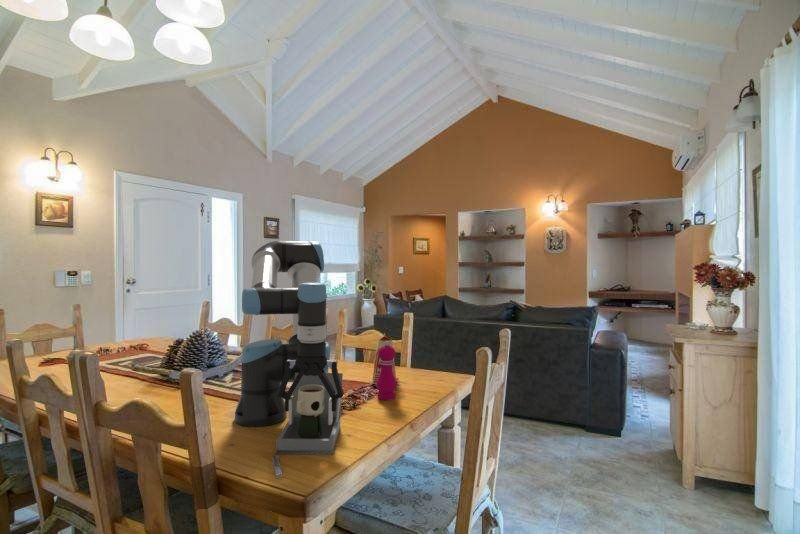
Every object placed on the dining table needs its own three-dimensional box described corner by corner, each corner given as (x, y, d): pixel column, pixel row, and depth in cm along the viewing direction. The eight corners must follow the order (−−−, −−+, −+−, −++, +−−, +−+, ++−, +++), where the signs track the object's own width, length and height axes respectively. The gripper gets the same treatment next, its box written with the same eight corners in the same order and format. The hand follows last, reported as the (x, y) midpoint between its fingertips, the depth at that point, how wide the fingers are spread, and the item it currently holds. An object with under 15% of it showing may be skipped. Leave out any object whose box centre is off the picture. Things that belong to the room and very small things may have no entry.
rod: (281, 479, 98) (281, 473, 98) (276, 480, 97) (276, 474, 97) (277, 459, 107) (277, 454, 107) (272, 460, 107) (272, 455, 106)
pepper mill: (394, 401, 150) (394, 343, 149) (373, 400, 151) (374, 342, 151) (398, 395, 157) (399, 339, 156) (378, 393, 158) (379, 338, 158)
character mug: (307, 446, 111) (308, 396, 111) (285, 440, 114) (287, 391, 114) (332, 431, 121) (334, 385, 120) (312, 426, 124) (314, 380, 124)
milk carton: (395, 385, 168) (396, 334, 168) (371, 385, 169) (372, 333, 168) (396, 379, 178) (396, 330, 177) (373, 378, 178) (374, 329, 177)
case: (276, 454, 109) (276, 394, 109) (295, 421, 130) (295, 372, 130) (332, 454, 109) (333, 395, 109) (342, 422, 131) (342, 372, 130)
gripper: (265, 342, 113) (264, 427, 114) (352, 343, 114) (351, 428, 114) (273, 337, 121) (272, 417, 121) (354, 338, 121) (353, 418, 122)
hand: (310, 422), depth 118 cm, fingers open, 10 cm apart
